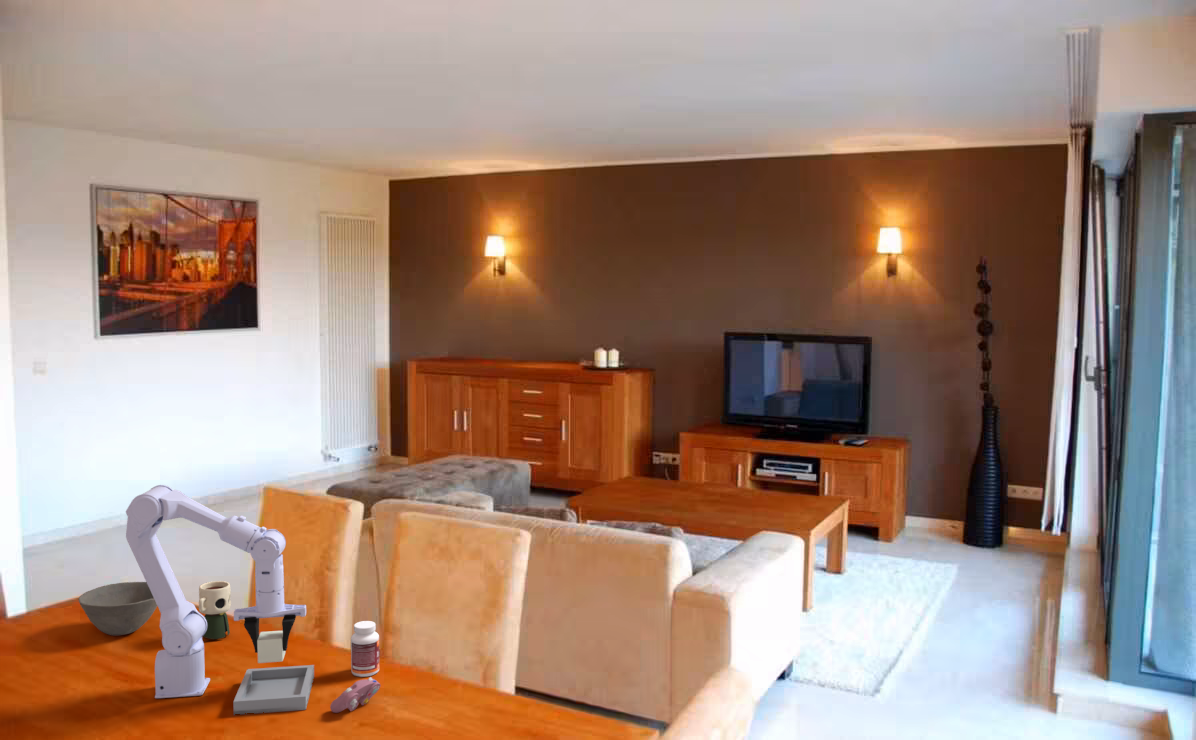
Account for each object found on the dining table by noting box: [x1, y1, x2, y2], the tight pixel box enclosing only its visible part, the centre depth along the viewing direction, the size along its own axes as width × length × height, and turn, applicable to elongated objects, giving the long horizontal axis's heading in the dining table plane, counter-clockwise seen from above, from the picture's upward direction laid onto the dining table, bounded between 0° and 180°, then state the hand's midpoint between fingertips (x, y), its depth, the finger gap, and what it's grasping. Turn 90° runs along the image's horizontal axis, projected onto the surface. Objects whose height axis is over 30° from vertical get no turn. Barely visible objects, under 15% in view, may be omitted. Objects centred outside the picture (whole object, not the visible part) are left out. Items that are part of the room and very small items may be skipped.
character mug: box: [198, 580, 232, 640], centre depth 229 cm, size 11×7×13 cm, turn 164°
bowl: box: [78, 581, 158, 637], centre depth 232 cm, size 19×19×10 cm
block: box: [257, 629, 287, 664], centre depth 201 cm, size 5×5×5 cm
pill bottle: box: [350, 620, 380, 678], centre depth 210 cm, size 6×6×11 cm
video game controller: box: [329, 676, 381, 714], centre depth 193 cm, size 10×5×7 cm, turn 148°
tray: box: [233, 664, 315, 716], centre depth 198 cm, size 14×16×3 cm
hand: (271, 650), depth 201 cm, fingers closed on block, 5 cm apart
